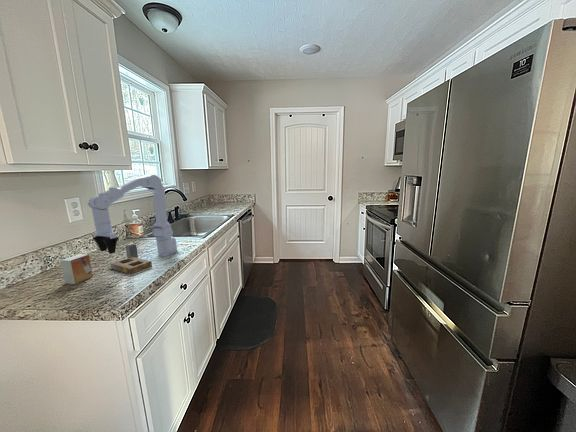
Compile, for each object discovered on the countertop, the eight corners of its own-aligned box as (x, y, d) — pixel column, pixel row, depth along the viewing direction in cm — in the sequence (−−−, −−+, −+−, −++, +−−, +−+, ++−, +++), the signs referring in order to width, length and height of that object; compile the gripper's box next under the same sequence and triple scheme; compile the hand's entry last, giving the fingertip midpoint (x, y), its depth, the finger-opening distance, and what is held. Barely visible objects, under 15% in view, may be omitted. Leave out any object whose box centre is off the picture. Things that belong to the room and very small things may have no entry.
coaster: (135, 256, 133) (135, 256, 133) (142, 258, 130) (141, 257, 130) (123, 260, 128) (123, 259, 127) (130, 262, 125) (130, 261, 125)
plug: (134, 257, 131) (132, 242, 130) (138, 257, 129) (135, 243, 128) (127, 259, 128) (125, 244, 126) (131, 260, 126) (129, 245, 125)
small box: (74, 284, 101) (69, 260, 99) (64, 283, 102) (59, 260, 100) (93, 276, 109) (89, 254, 107) (83, 275, 110) (79, 253, 108)
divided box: (132, 262, 125) (131, 256, 124) (152, 267, 117) (151, 261, 117) (110, 269, 116) (109, 263, 115) (130, 275, 109) (129, 269, 108)
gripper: (84, 223, 108) (90, 252, 111) (100, 226, 101) (106, 257, 104) (102, 220, 114) (107, 247, 117) (118, 222, 107) (123, 251, 110)
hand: (108, 251), depth 110 cm, fingers open, 7 cm apart
